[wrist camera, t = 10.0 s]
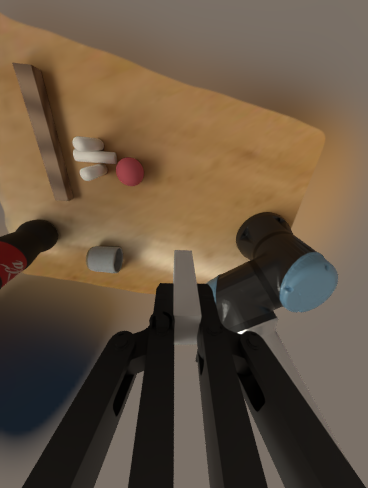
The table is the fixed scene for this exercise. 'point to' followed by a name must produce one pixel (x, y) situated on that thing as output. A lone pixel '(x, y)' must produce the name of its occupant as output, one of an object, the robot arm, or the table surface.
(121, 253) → the ceramic mug
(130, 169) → the ball
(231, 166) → the table surface
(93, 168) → the pin
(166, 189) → the table surface
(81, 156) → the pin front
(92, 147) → the pin
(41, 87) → the back rail
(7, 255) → the cola bottle
